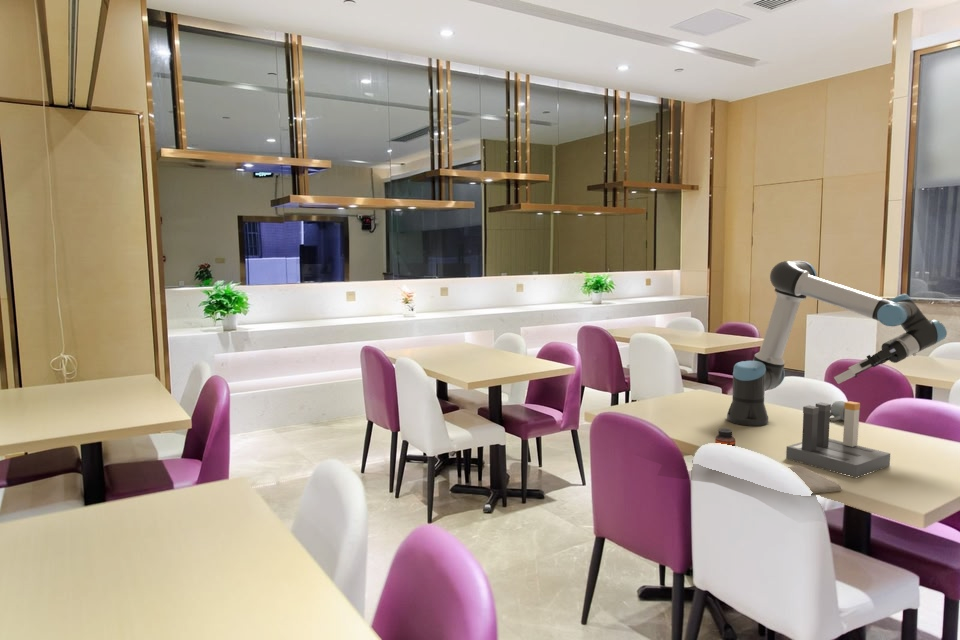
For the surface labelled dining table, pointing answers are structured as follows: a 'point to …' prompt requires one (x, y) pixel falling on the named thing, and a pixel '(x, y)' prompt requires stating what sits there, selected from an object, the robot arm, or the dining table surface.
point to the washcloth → (815, 480)
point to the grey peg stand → (832, 447)
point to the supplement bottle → (725, 437)
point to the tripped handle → (851, 423)
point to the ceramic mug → (838, 411)
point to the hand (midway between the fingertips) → (843, 375)
